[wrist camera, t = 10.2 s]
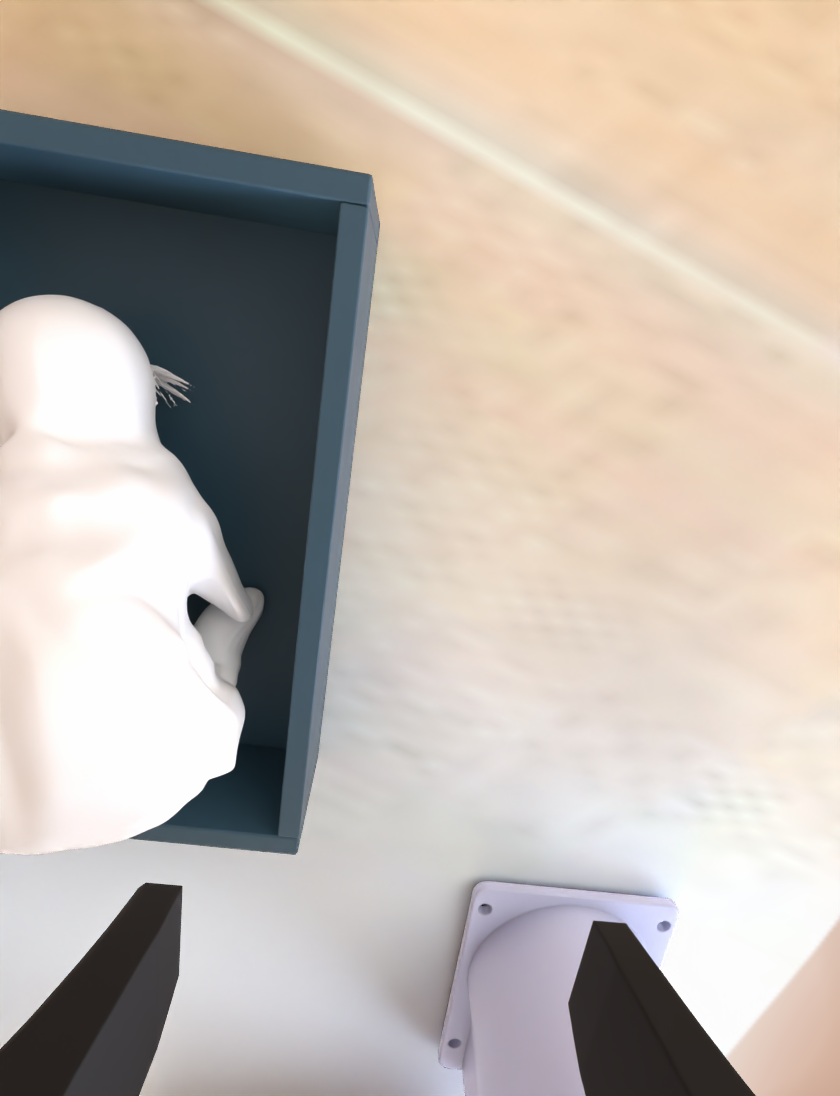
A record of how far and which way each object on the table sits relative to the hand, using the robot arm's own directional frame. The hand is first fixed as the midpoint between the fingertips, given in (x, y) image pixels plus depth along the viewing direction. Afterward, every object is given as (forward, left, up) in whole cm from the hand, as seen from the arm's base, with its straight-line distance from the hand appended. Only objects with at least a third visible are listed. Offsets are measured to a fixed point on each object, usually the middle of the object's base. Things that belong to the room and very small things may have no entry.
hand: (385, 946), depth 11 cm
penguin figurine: (+4, +8, -10) cm, 13 cm away
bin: (+5, +8, -10) cm, 14 cm away
